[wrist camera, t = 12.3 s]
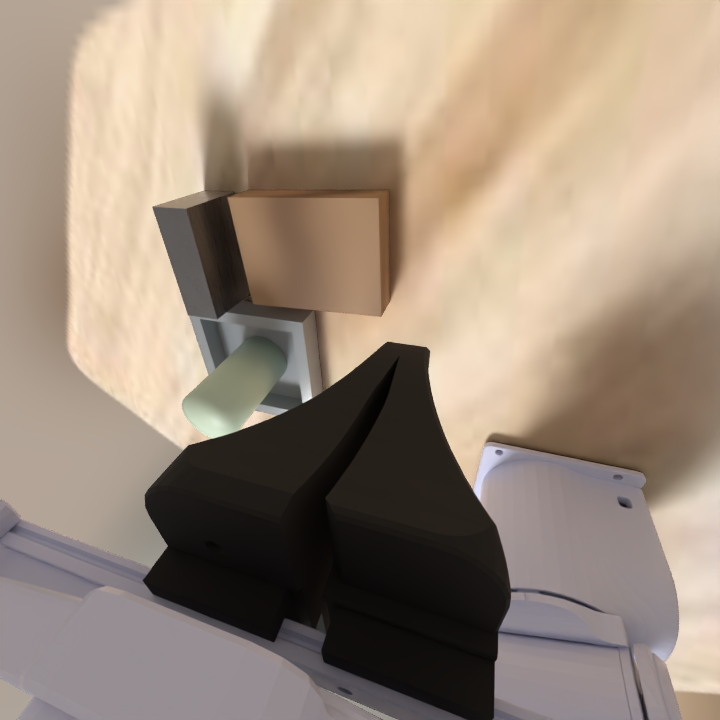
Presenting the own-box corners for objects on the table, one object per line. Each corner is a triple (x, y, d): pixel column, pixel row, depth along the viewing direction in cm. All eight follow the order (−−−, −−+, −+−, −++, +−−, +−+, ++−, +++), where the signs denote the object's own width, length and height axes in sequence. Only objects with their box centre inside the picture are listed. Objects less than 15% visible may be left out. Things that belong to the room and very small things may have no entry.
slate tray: (314, 309, 23) (302, 322, 22) (324, 407, 28) (315, 423, 27) (203, 295, 26) (186, 306, 24) (230, 388, 30) (217, 402, 29)
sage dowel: (291, 380, 27) (243, 444, 22) (249, 374, 28) (194, 435, 23) (281, 338, 25) (226, 399, 20) (236, 334, 26) (173, 390, 21)
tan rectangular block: (391, 188, 18) (378, 198, 17) (391, 298, 22) (381, 316, 20) (252, 188, 21) (227, 197, 19) (272, 288, 24) (252, 304, 22)
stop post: (233, 192, 21) (186, 208, 18) (254, 291, 24) (217, 319, 21) (203, 190, 21) (152, 206, 18) (227, 287, 25) (188, 315, 22)
